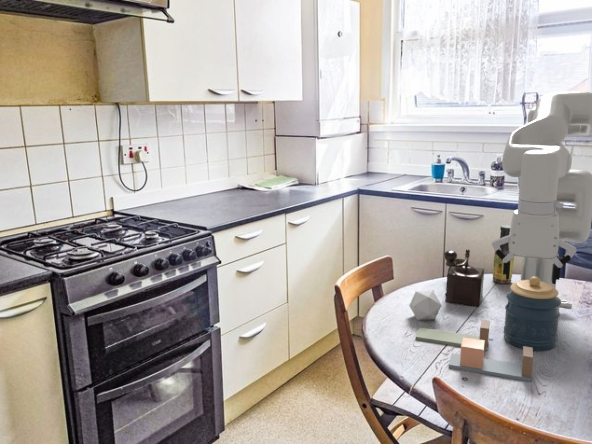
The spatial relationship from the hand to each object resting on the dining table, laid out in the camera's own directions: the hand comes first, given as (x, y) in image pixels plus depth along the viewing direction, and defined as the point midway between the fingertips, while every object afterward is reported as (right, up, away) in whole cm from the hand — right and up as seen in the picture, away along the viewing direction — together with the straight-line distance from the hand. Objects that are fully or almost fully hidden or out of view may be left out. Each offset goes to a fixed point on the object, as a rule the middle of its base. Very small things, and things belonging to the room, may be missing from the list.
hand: (530, 279), depth 119 cm
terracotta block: (-11, -21, +6) cm, 24 cm away
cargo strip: (-8, -22, +5) cm, 23 cm away
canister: (+8, -18, +18) cm, 27 cm away
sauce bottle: (+18, -8, +61) cm, 64 cm away
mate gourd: (+2, -8, +61) cm, 61 cm away
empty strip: (-12, -18, +19) cm, 29 cm away
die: (-16, -15, +34) cm, 40 cm away
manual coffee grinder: (-1, -12, +44) cm, 46 cm away
